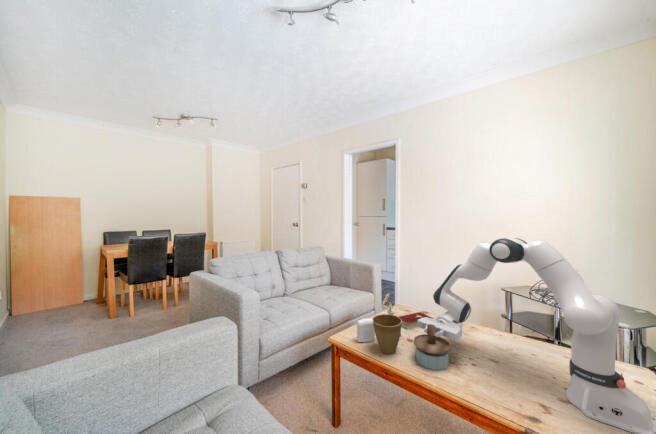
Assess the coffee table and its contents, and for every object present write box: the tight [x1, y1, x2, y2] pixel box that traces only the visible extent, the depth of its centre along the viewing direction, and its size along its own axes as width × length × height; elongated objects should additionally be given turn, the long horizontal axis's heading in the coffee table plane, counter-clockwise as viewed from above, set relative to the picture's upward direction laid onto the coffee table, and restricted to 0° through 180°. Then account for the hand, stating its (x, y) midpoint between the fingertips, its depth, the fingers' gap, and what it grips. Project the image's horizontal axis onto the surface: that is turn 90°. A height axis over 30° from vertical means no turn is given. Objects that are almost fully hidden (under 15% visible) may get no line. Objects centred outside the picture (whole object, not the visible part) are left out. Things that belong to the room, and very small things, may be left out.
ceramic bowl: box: [415, 346, 449, 371], centre depth 120 cm, size 14×14×6 cm
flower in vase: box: [382, 293, 402, 335], centre depth 147 cm, size 13×11×25 cm
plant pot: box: [372, 313, 402, 355], centre depth 131 cm, size 15×15×16 cm
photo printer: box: [356, 318, 376, 343], centre depth 141 cm, size 10×4×12 cm, turn 103°
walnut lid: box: [413, 324, 451, 354], centre depth 120 cm, size 16×16×9 cm
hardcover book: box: [398, 311, 434, 330], centre depth 162 cm, size 12×21×4 cm, turn 112°
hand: (430, 333), depth 120 cm, fingers closed on walnut lid, 4 cm apart
